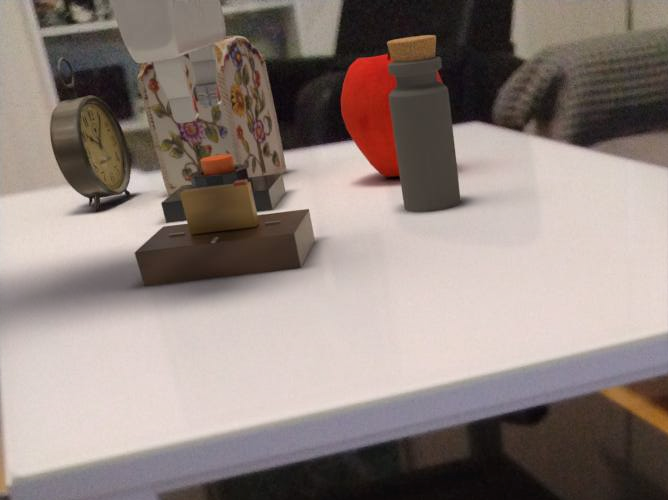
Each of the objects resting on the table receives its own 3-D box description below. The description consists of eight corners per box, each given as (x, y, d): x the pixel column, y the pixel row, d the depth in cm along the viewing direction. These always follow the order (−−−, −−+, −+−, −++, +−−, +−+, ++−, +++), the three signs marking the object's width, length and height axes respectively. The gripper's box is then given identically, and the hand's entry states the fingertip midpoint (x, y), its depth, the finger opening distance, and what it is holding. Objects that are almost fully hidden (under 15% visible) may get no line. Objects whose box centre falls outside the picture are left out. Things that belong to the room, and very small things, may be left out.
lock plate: (144, 287, 89) (133, 250, 88) (171, 259, 98) (162, 224, 96) (301, 269, 89) (293, 231, 87) (315, 241, 97) (308, 206, 95)
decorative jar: (165, 197, 127) (121, 31, 117) (211, 177, 136) (174, 21, 126) (249, 192, 124) (211, 20, 114) (291, 172, 133) (259, 11, 123)
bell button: (201, 178, 113) (197, 161, 112) (207, 173, 116) (203, 156, 115) (232, 175, 113) (229, 157, 112) (238, 169, 116) (235, 152, 115)
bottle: (395, 214, 103) (370, 44, 95) (417, 201, 108) (395, 37, 100) (449, 212, 102) (429, 38, 93) (468, 198, 106) (450, 32, 98)
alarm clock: (105, 213, 123) (59, 59, 114) (65, 217, 124) (16, 65, 115) (143, 194, 132) (104, 50, 122) (105, 197, 133) (63, 55, 124)
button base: (166, 223, 113) (156, 185, 111) (186, 205, 121) (177, 169, 119) (272, 210, 112) (264, 171, 110) (286, 193, 121) (278, 156, 118)
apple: (349, 193, 116) (327, 59, 109) (358, 174, 126) (338, 50, 118) (453, 180, 116) (437, 45, 108) (453, 162, 125) (439, 37, 118)
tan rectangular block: (190, 235, 91) (178, 190, 89) (194, 230, 92) (183, 186, 90) (256, 227, 91) (246, 181, 89) (259, 223, 92) (249, 178, 90)
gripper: (146, -77, 87) (191, 103, 95) (70, -83, 71) (131, 136, 78) (218, -87, 87) (257, 94, 95) (159, -97, 70) (212, 125, 78)
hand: (200, 113), depth 86 cm, fingers open, 8 cm apart
